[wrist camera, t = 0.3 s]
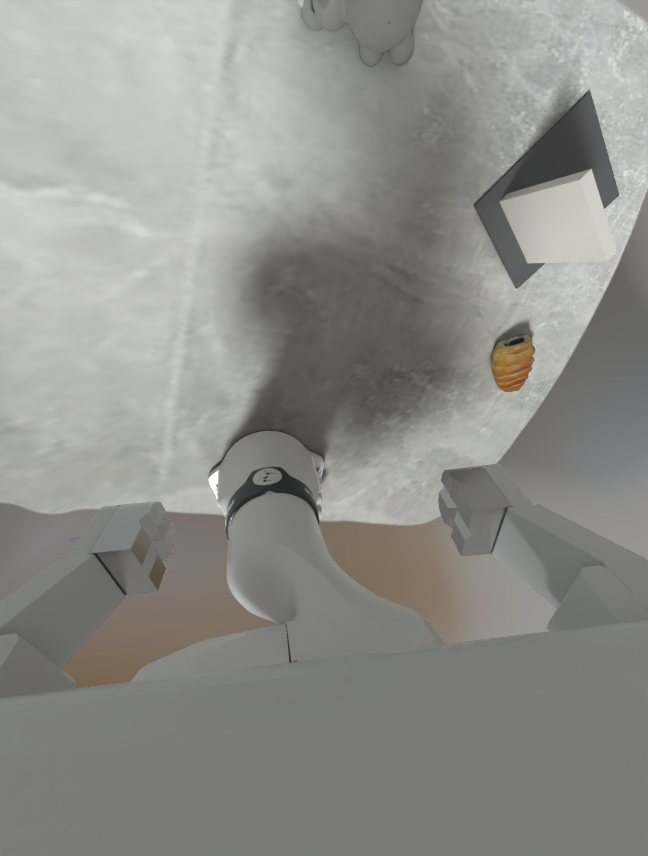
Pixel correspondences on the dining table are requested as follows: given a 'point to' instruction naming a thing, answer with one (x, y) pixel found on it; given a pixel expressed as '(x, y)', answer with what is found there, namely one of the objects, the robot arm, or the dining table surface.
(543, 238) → the tile
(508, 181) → the mat
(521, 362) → the pastry
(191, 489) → the dining table surface
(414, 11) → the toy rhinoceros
